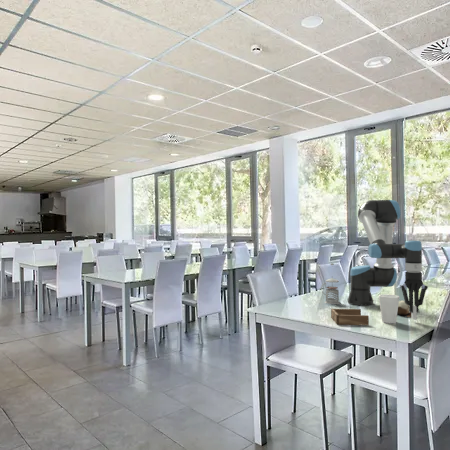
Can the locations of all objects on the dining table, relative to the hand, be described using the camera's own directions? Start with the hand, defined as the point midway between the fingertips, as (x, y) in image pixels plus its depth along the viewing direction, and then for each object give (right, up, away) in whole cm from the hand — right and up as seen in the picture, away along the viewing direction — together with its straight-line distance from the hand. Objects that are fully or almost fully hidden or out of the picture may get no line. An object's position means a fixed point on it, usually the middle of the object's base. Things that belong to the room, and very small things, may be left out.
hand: (413, 319), depth 194 cm
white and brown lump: (+3, -2, +18) cm, 18 cm away
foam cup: (-12, -2, +1) cm, 12 cm away
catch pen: (-31, -2, +3) cm, 31 cm away
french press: (-27, -3, +53) cm, 59 cm away
